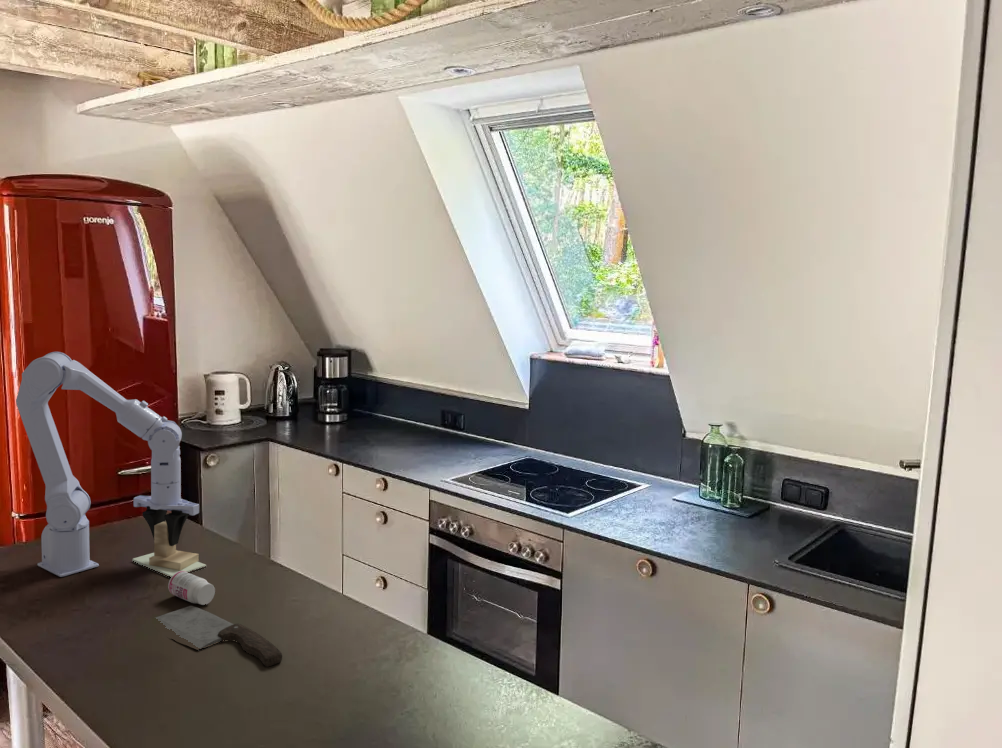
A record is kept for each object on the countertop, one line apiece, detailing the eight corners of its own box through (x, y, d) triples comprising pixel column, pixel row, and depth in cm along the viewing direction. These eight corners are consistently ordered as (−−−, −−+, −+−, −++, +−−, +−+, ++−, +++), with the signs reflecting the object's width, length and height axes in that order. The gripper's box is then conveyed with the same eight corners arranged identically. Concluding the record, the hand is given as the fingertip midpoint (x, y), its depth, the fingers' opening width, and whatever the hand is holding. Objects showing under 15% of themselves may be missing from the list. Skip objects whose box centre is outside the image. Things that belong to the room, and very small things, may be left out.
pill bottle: (162, 584, 155) (191, 596, 150) (181, 565, 158) (209, 576, 153) (175, 600, 157) (203, 612, 153) (192, 580, 160) (221, 592, 156)
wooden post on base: (149, 564, 169) (149, 527, 168) (168, 555, 175) (168, 519, 174) (180, 570, 168) (180, 532, 167) (198, 560, 173) (199, 524, 172)
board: (132, 561, 173) (132, 558, 173) (166, 551, 179) (166, 548, 179) (172, 578, 165) (172, 575, 165) (206, 567, 171) (206, 564, 171)
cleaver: (294, 658, 136) (294, 646, 136) (245, 681, 128) (245, 668, 128) (189, 609, 153) (189, 598, 153) (140, 626, 145) (140, 615, 145)
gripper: (122, 481, 168) (123, 544, 170) (183, 489, 164) (184, 554, 166) (146, 472, 175) (146, 534, 177) (205, 481, 171) (205, 543, 173)
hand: (166, 543), depth 172 cm, fingers closed on wooden post on base, 3 cm apart
